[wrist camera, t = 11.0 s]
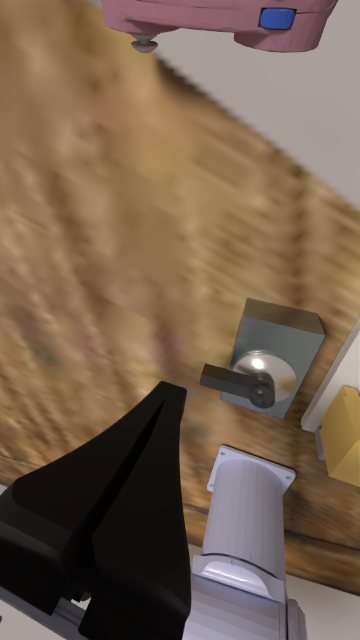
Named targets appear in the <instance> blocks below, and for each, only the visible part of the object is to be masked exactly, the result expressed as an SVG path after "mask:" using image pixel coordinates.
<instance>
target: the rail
mask: <svg viewBox="0 0 360 640" xmlns="http://www.w3.org/2000/svg"><path fill="white" fill-rule="evenodd" d="M343 385H345V386H348V387H352V388H355V389H357V392H358V394H359V396H360V316H359V318H358V320H357V322H356V323H355V325H354V327H353V329H352V330H351V332H350V334H349V336H348V337H347V339H346V341H345V343H344V345H343V346H342V348H341V350H340V352H339V353H338V355H337V357H336V359H335V360H334V362H333V364H332V366H331V367H330V369H329V371H328V373H327V374H326V376H325V378H324V380H323V382H322V383H321V385H320V387H319V389H318V390H317V392H316V394H315V396H314V397H313V399H312V401H311V403H310V404H309V406H308V408H307V410H306V411H305V413H304V415H303V417H302V419H301V426H302V429H303V430H307V431H310V432H313V433H314V436H315V441H316V447H317V453H318V458H319V459H321V460H324V461H326V460H325V455H324V450H323V445H322V440H321V435H320V429H321V428H322V422H321V419H322V417H323V416H324V414H325V413H326V411H327V409H328V408H329V406H330V405H331V403H332V402H333V400H334V398H335V397H336V395H337V394H338V392H339V391H340V389H341V387H342V386H343Z"/></svg>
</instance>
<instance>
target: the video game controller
mask: <svg viewBox="0 0 360 640" xmlns="http://www.w3.org/2000/svg"><path fill="white" fill-rule="evenodd" d="M101 1H102V8H103V14H104V21H105V25H106V26H107V27H109V28H111V29H113V30H116V31H121V32H126V33H129V34H131V35H132V36H133V37H134V38H136V39H137V40H139V41H134V42H132V43H131V44H132V46H133V48H135V49H136V50H138V51H139V52H141V53H150V52H152V51H153V50H154V49H155V48H156V47H157V45H158V43H156V42H155V41H150V40H151V39H153V38H154V37H155V36H157V34H160V33H161V32H169V31H174V30H176V29H179V28H186V29H196V30H207V31H217V32H232V33H234V40H235V41H236V42H237V43H239V44H242V45H244V46H246V47H251V48H254V49H259V50H264V51H269V52H305V51H309V50H313V49H315V48H316V47H317V46H318V44H319V41H320V38H321V35H322V33H323V30H324V27H325V24H326V21H327V18H328V17H329V16H330V14H331V12H332V11H333V9H334V7H335V6H336V3H337V2H338V0H101Z"/></svg>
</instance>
